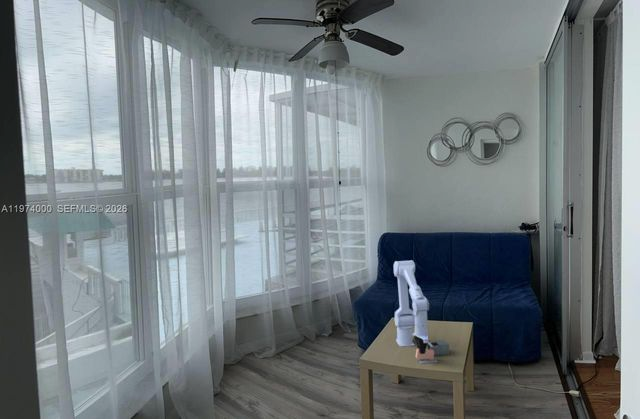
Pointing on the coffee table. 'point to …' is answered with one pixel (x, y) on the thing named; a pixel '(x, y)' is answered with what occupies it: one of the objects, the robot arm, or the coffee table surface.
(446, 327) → the coffee table surface
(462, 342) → the coffee table surface
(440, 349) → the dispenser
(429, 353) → the salmon pink brick
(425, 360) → the pad
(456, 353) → the coffee table surface
